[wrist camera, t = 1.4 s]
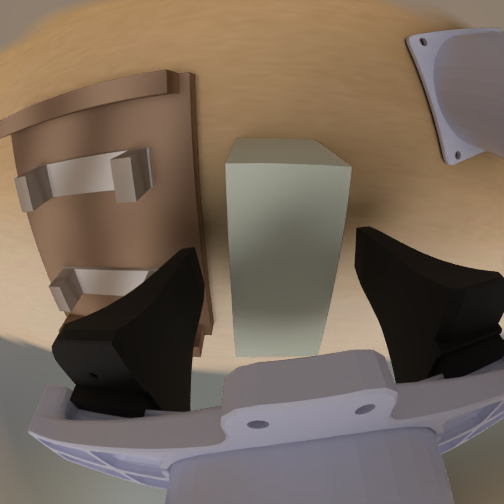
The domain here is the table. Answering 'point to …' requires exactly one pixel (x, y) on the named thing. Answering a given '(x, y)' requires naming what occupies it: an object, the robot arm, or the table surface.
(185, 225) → the brown wooden holder
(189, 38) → the table surface
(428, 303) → the robot arm
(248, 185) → the tapered sage green block
